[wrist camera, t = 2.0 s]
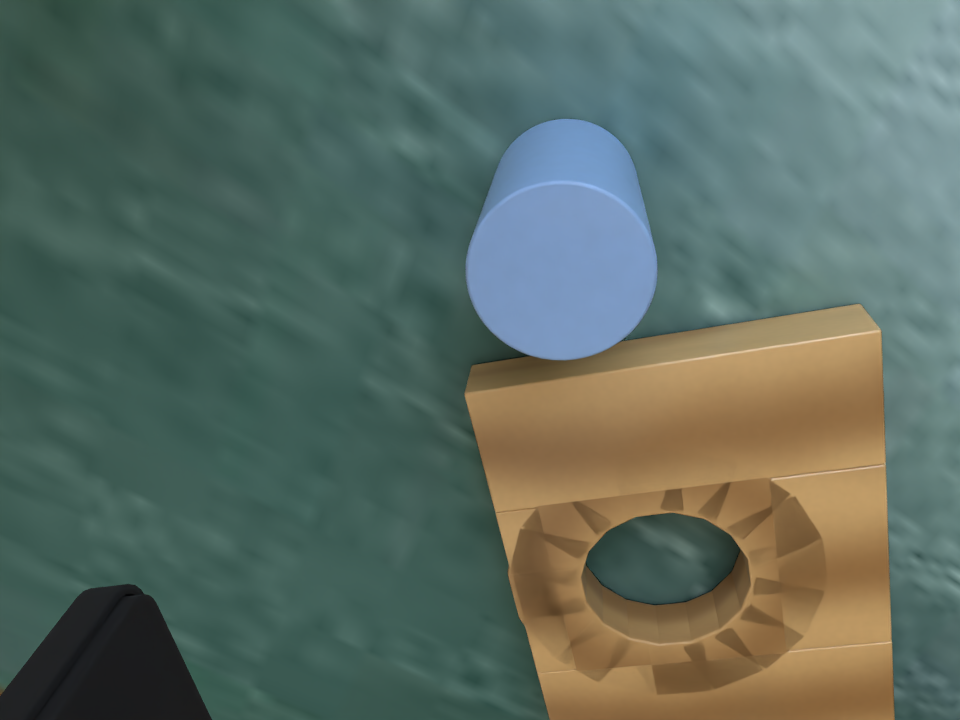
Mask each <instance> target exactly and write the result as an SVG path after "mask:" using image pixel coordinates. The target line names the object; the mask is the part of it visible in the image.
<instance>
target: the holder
mask: <svg viewBox="0 0 960 720" xmlns="http://www.w3.org/2000/svg"><path fill="white" fill-rule="evenodd" d="M464 395H465V399H466V403H467V406H468V410H469V414H470V418H471V422H472V425H473V429H474V433H475V437H476V441H477V444H478V448H479V452H480V456H481V460H482V463H483V467H484V471H485V475H486V479H487V482H488V486H489V490H490V494H491V498H492V501H493V505H494V509H495V511H496V517H497V521H498V525H499V529H500V533H501V536H502V540H503V544H504V548H505V552H506V555H507V559H508V563H509V565H508V577H509V581H510V585H511V589H512V593H513V596H514V600H515V604H516V608H517V611H518V615H519V619H520V620H521V621H522V623H523V624H524V625H525V628H526V631H527V635H528V639H529V643H530V647H531V650H532V654H533V658H534V662H535V666H536V669H537V672H538V677H539V681H540V685H541V688H542V692H543V696H544V700H545V704H546V707H547V711H548V715H549V719H550V720H895V718H894V688H893V657H892V641H891V640H892V635H891V604H890V574H889V543H888V513H887V482H886V465H885V462H886V452H885V421H884V391H883V360H882V331H881V329H880V328H879V327H878V325H877V324H876V323H875V322H874V320H873V319H872V318H871V316H870V315H869V314H868V313H867V311H866V310H865V309H864V307H863V306H862V305H861V304H855V305H849V306H842V307H836V308H830V309H823V310H817V311H811V312H804V313H798V314H792V315H786V316H779V317H773V318H767V319H760V320H754V321H748V322H742V323H735V324H729V325H723V326H716V327H710V328H704V329H697V330H691V331H685V332H679V333H672V334H666V335H660V336H653V337H647V338H641V339H635V340H628V341H622V342H619V343H617V344H615V345H614V346H612V347H611V348H609V349H607V350H605V351H603V352H601V353H598V354H595V355H592V356H589V357H585V358H581V359H575V360H548V359H541V358H537V357H533V356H528V357H521V358H515V359H509V360H502V361H496V362H490V363H483V364H477V365H473V366H472V367H471V370H470V374H469V378H468V382H467V386H466V390H465V394H464ZM664 513H677V514H682V515H687V516H692V517H697V518H702V519H705V520H707V521H709V522H710V523H712V524H714V525H715V526H717V527H719V528H720V529H722V530H724V531H725V532H727V533H728V534H730V535H731V536H732V537H733V539H734V540H735V542H736V543H737V545H738V546H739V547H740V549H741V550H740V552H739V555H738V558H737V560H736V563H735V565H734V568H733V570H732V572H731V573H730V574H729V575H728V576H727V577H726V578H725V579H724V580H723V581H722V582H721V583H720V584H719V585H718V586H716V587H715V588H714V589H713V590H712V591H711V592H708V593H706V594H704V595H702V596H699V597H697V598H695V599H692V600H690V601H688V602H684V603H674V604H664V605H650V604H645V603H640V602H636V601H631V600H626V599H624V598H622V597H621V596H619V595H617V594H616V593H614V592H612V591H610V590H609V589H607V588H605V587H604V586H602V585H601V584H600V582H599V581H598V580H597V579H596V577H595V576H594V575H593V573H592V572H591V571H590V570H589V568H588V567H587V566H586V559H587V555H588V552H589V551H590V550H591V548H592V547H593V546H594V545H595V544H596V543H597V542H598V541H599V540H600V539H601V537H602V536H603V535H604V534H605V533H606V532H607V531H608V530H610V529H612V528H614V527H616V526H618V525H620V524H622V523H624V522H626V521H628V520H630V519H633V518H635V517H639V516H647V515H656V514H664Z"/></svg>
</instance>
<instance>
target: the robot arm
mask: <svg viewBox="0 0 960 720" xmlns="http://www.w3.org/2000/svg"><path fill="white" fill-rule="evenodd" d="M0 720H212V719H211V717H210V715H209V713H208V711H207V709H206V706H205V704H204V702H203V700H202V698H201V696H200V694H199V692H198V690H197V688H196V685H195V683H194V681H193V679H192V677H191V675H190V673H189V671H188V669H187V667H186V664H185V662H184V660H183V658H182V656H181V654H180V652H179V650H178V648H177V645H176V643H175V641H174V639H173V637H172V635H171V633H170V631H169V629H168V627H167V624H166V622H165V620H164V618H163V616H162V614H161V612H160V610H159V608H158V606H157V603H156V602H155V600H154V599H153V598H152V597H151V596H149V595H144V593H143V592H142V590H141V589H140V588H138V587H137V586H135V585H131V584H126V585H117V586H108V587H99V588H91V589H88V590H85V591H83V592H82V593H81V594H80V595H79V596H78V597H77V598H76V599H75V601H74V602H73V603H72V605H71V606H70V607H69V608H68V610H67V611H66V612H65V614H64V615H63V616H62V617H61V619H60V620H59V621H58V622H57V624H56V625H55V626H54V628H53V629H52V630H51V631H50V633H49V634H48V635H47V637H46V638H45V639H44V640H43V642H42V643H41V644H40V646H39V647H38V648H37V649H36V651H35V652H34V653H33V655H32V656H31V657H30V658H29V660H28V661H27V662H26V664H25V665H24V666H23V667H22V669H21V670H20V671H19V673H18V674H17V675H16V676H15V678H14V679H13V680H12V682H11V683H10V684H9V685H8V687H7V688H6V689H5V691H4V692H3V693H2V694H1V696H0Z"/></svg>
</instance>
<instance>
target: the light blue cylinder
mask: <svg viewBox="0 0 960 720" xmlns="http://www.w3.org/2000/svg"><path fill="white" fill-rule="evenodd" d="M465 270H466V283H467V289H468V293H469V296H470V299H471V302H472V304H473V306H474V308H475V310H476V312H477V314H478V315H479V317H480V319H481V320H482V322H483V323H484V324H485V325H486V326H487V328H488V329H489V330H490V331H491V332H492V333H493V334H494V335H495V336H496V337H498V338H499V339H500V340H501V341H503V342H504V343H506V344H507V345H508V346H510V347H512V348H514V349H516V350H518V351H520V352H522V353H525V354H527V355H530V356H533V357H537V358H541V359H548V360H575V359H581V358H585V357H589V356H592V355H595V354H598V353H601V352H603V351H605V350H607V349H609V348H611V347H612V346H614V345H615V344H617V343H619V342H620V341H621V340H623V339H624V338H625V337H626V336H627V335H629V334H630V333H631V332H632V331H633V330H634V328H635V327H636V326H637V325H638V324H639V323H640V321H641V320H642V318H643V317H644V315H645V314H646V312H647V310H648V308H649V306H650V304H651V301H652V299H653V296H654V293H655V289H656V284H657V274H658V265H657V255H656V251H655V246H654V242H653V238H652V234H651V230H650V226H649V222H648V218H647V214H646V209H645V205H644V201H643V197H642V193H641V189H640V185H639V181H638V177H637V173H636V169H635V166H634V163H633V161H632V159H631V157H630V155H629V153H628V151H627V150H626V149H625V147H624V146H623V145H622V143H621V142H620V141H619V140H618V139H617V138H616V137H615V136H613V135H612V134H611V133H609V132H608V131H607V130H605V129H603V128H601V127H600V126H597V125H595V124H593V123H590V122H586V121H582V120H576V119H558V120H551V121H548V122H544V123H541V124H539V125H536V126H534V127H532V128H530V129H529V130H527V131H525V132H524V133H523V134H521V135H520V136H519V137H518V138H517V139H516V140H515V141H514V142H513V143H512V144H511V145H510V146H509V147H508V149H507V150H506V151H505V153H504V155H503V156H502V158H501V160H500V162H499V165H498V167H497V170H496V172H495V175H494V178H493V181H492V183H491V186H490V189H489V192H488V194H487V197H486V200H485V203H484V205H483V208H482V211H481V214H480V216H479V219H478V222H477V225H476V227H475V230H474V233H473V236H472V238H471V241H470V244H469V248H468V252H467V257H466V267H465Z"/></svg>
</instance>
